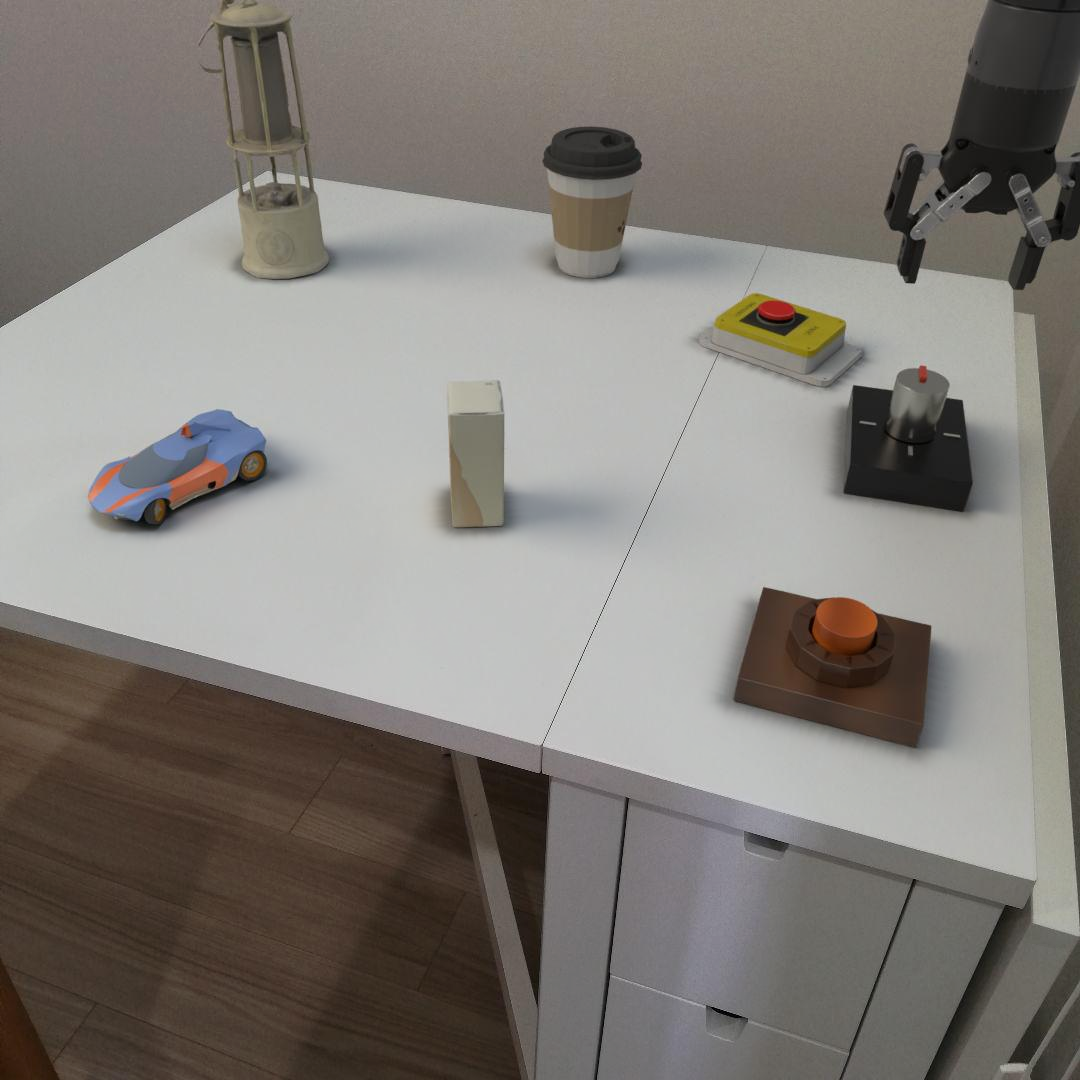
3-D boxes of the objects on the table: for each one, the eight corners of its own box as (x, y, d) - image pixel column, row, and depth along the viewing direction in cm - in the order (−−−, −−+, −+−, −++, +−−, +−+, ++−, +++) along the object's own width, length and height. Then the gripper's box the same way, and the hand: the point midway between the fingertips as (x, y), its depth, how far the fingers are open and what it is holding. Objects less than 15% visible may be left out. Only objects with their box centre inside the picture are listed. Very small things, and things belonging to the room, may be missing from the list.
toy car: (74, 504, 88) (57, 450, 84) (227, 434, 96) (217, 382, 93) (126, 546, 83) (110, 491, 80) (281, 468, 92) (273, 416, 89)
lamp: (284, 287, 121) (244, -1, 102) (208, 258, 127) (157, -19, 108) (347, 258, 128) (320, -18, 109) (272, 232, 133) (234, -34, 115)
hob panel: (963, 511, 89) (973, 481, 87) (843, 493, 91) (850, 462, 89) (954, 427, 100) (963, 398, 98) (846, 411, 102) (853, 383, 100)
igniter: (924, 647, 76) (938, 606, 74) (915, 748, 69) (930, 705, 66) (758, 608, 79) (767, 567, 77) (733, 700, 72) (741, 658, 69)
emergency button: (743, 276, 115) (872, 316, 108) (738, 313, 118) (864, 354, 111) (700, 305, 110) (833, 349, 103) (695, 343, 112) (825, 389, 105)
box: (450, 492, 90) (446, 378, 83) (501, 490, 90) (500, 376, 84) (452, 530, 86) (447, 413, 79) (505, 528, 86) (505, 411, 79)
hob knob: (936, 446, 92) (952, 393, 88) (884, 439, 92) (897, 386, 89) (934, 421, 95) (949, 368, 92) (883, 413, 96) (897, 361, 93)
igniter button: (874, 624, 73) (880, 605, 72) (869, 662, 70) (874, 643, 69) (816, 610, 74) (820, 591, 73) (808, 647, 71) (812, 628, 70)
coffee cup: (637, 287, 123) (647, 157, 114) (539, 284, 123) (542, 154, 114) (631, 247, 132) (640, 124, 123) (540, 245, 132) (543, 122, 123)
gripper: (932, 80, 73) (880, 298, 83) (1144, 90, 72) (1065, 309, 82) (911, 52, 79) (865, 259, 89) (1107, 61, 78) (1038, 269, 88)
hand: (961, 283), depth 85 cm, fingers open, 8 cm apart
